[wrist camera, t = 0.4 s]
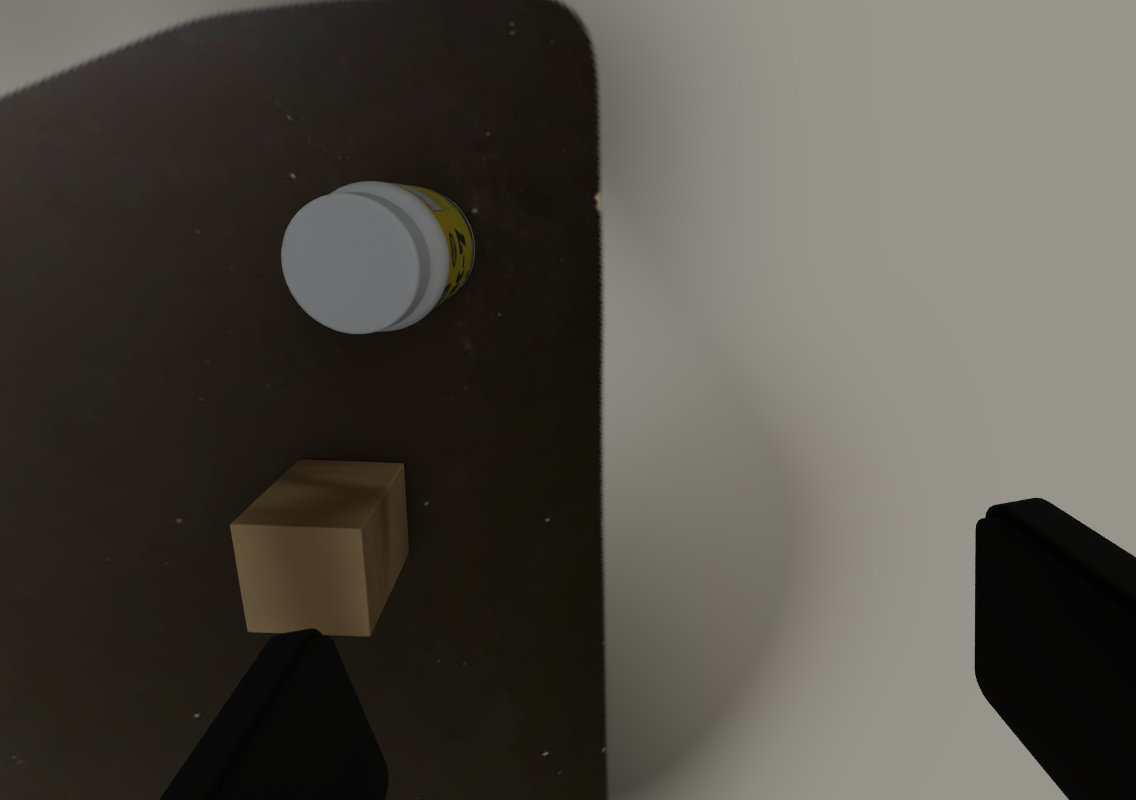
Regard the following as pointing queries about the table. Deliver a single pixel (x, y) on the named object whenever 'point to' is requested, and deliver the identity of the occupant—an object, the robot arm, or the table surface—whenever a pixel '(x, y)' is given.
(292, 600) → the oak block
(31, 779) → the table surface
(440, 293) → the supplement bottle
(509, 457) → the table surface
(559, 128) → the table surface
